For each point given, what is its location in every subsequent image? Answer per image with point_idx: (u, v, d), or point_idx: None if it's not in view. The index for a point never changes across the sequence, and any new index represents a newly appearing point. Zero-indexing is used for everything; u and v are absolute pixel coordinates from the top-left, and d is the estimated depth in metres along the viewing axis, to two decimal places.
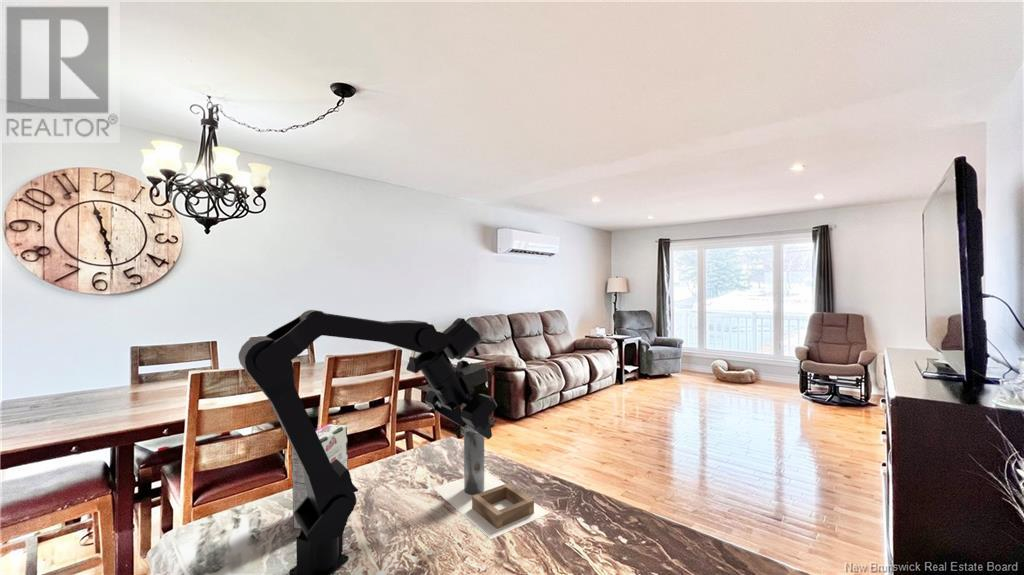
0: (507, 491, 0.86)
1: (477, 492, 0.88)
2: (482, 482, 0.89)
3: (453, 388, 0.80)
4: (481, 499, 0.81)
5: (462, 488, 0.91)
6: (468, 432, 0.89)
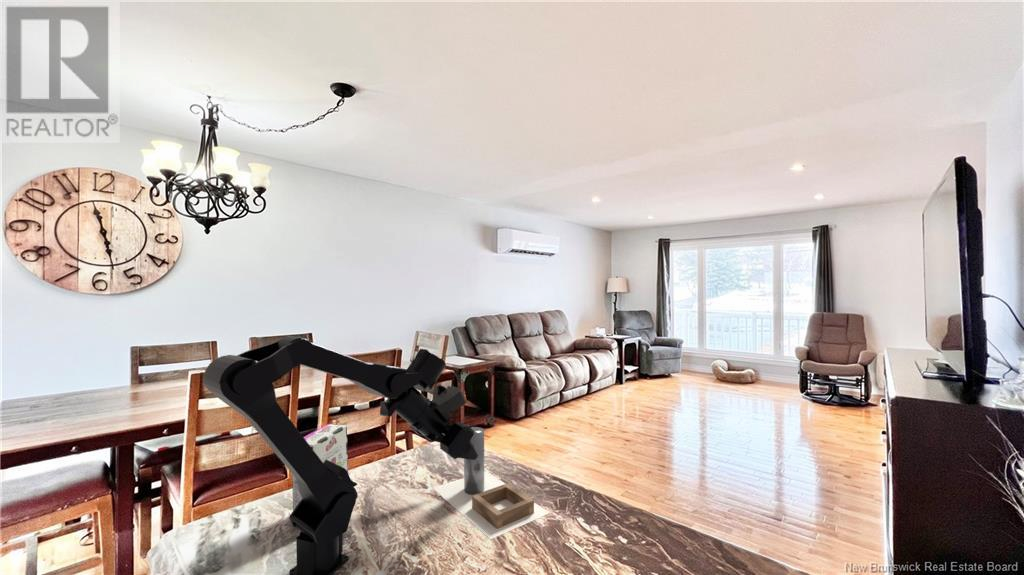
0: (507, 491, 0.86)
1: (477, 492, 0.88)
2: (482, 482, 0.89)
3: (429, 421, 0.81)
4: (481, 499, 0.81)
5: (462, 488, 0.91)
6: None
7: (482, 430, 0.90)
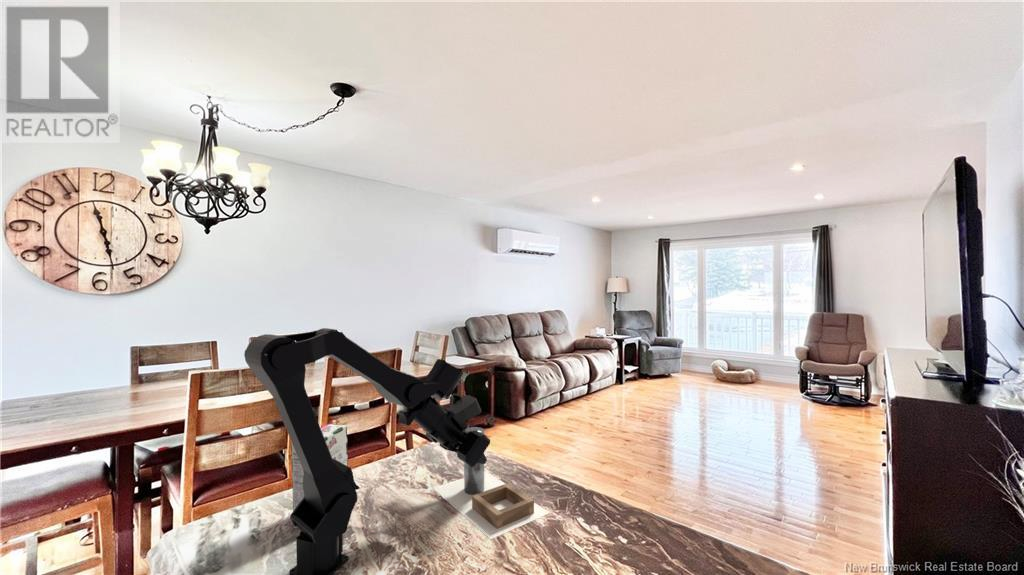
0: (507, 491, 0.86)
1: (477, 492, 0.88)
2: (482, 482, 0.89)
3: (446, 430, 0.83)
4: (481, 499, 0.81)
5: (462, 488, 0.91)
6: None
7: (482, 430, 0.90)
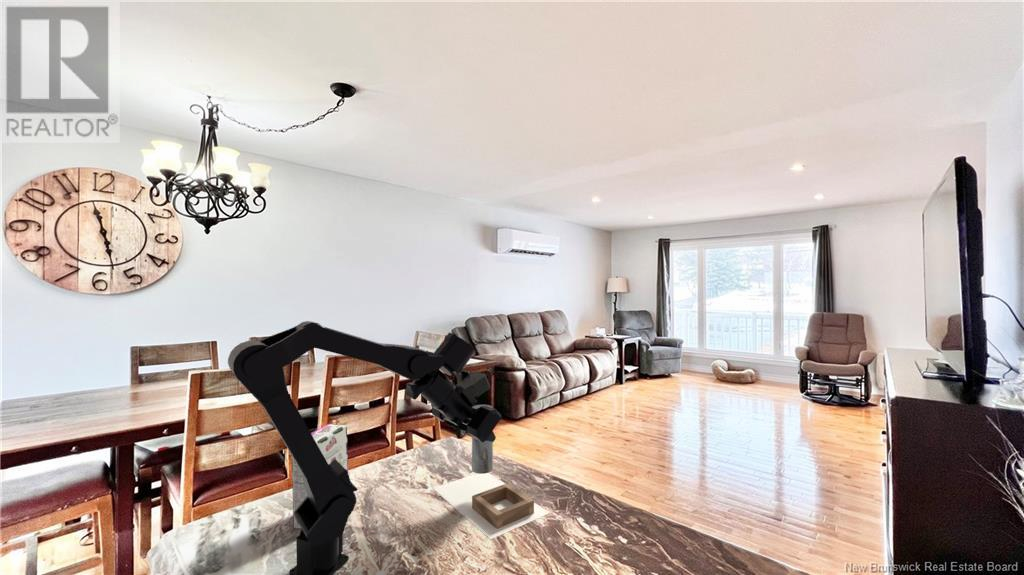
0: (507, 491, 0.86)
1: (486, 471, 0.86)
2: (491, 461, 0.87)
3: (455, 405, 0.80)
4: (481, 499, 0.81)
5: (462, 488, 0.91)
6: None
7: (491, 407, 0.88)
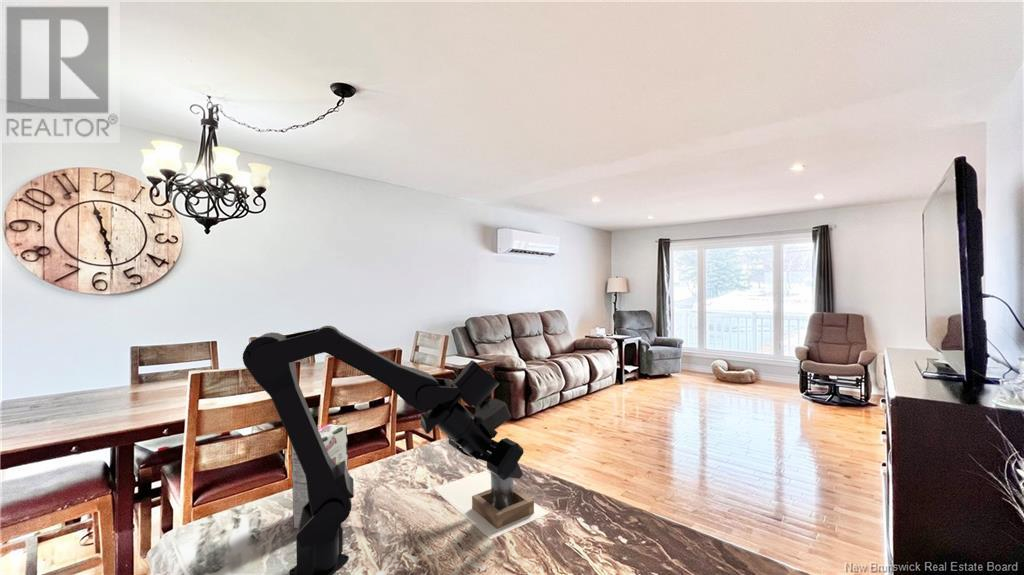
0: None
1: None
2: (511, 502, 0.81)
3: (474, 438, 0.75)
4: (481, 499, 0.81)
5: (462, 488, 0.91)
6: None
7: None
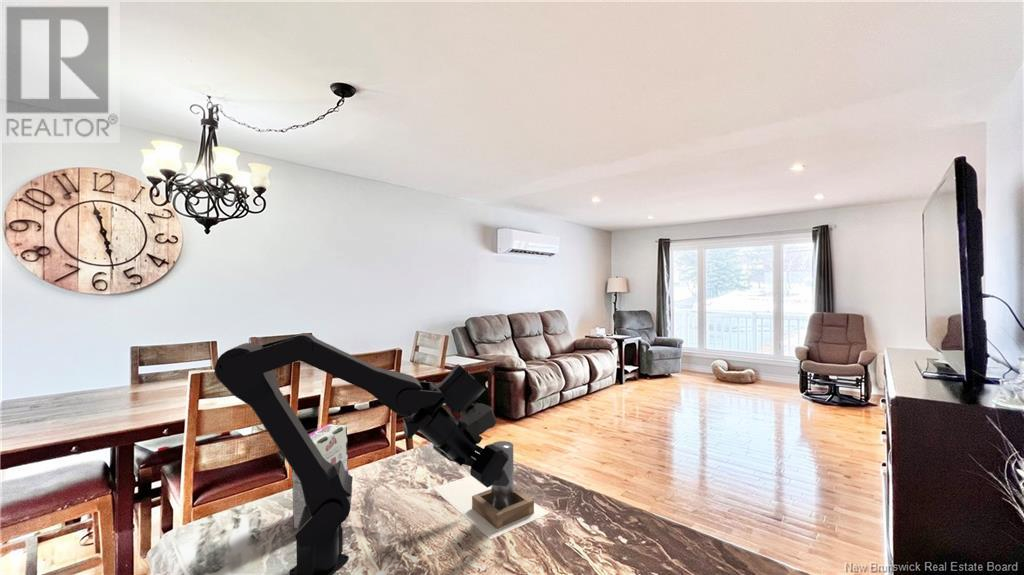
0: None
1: None
2: (511, 502, 0.81)
3: (458, 444, 0.73)
4: (481, 499, 0.81)
5: (462, 488, 0.91)
6: None
7: (511, 445, 0.82)
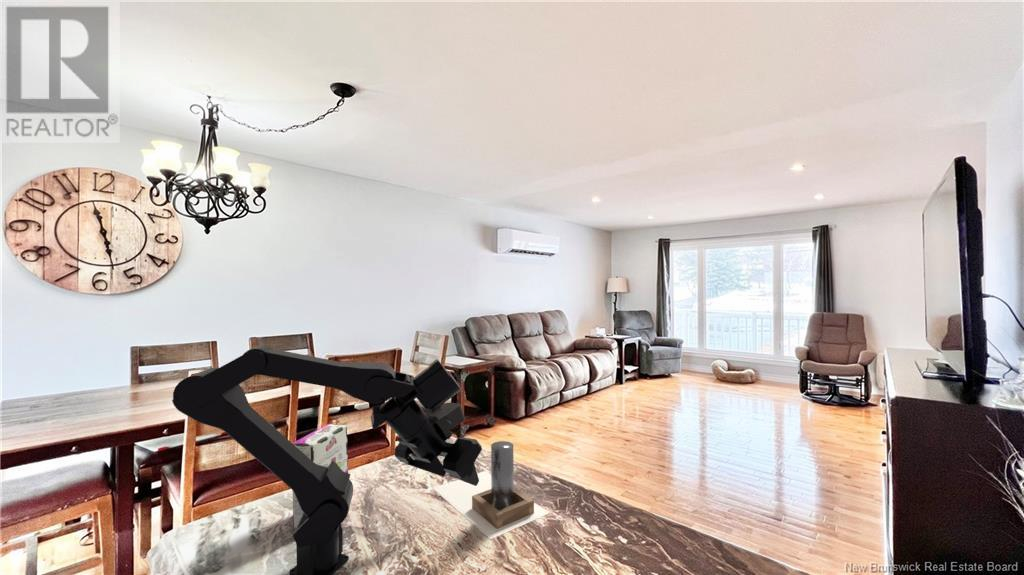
0: None
1: None
2: (511, 502, 0.81)
3: (429, 437, 0.70)
4: (481, 499, 0.81)
5: (462, 488, 0.91)
6: (496, 447, 0.81)
7: (511, 445, 0.82)
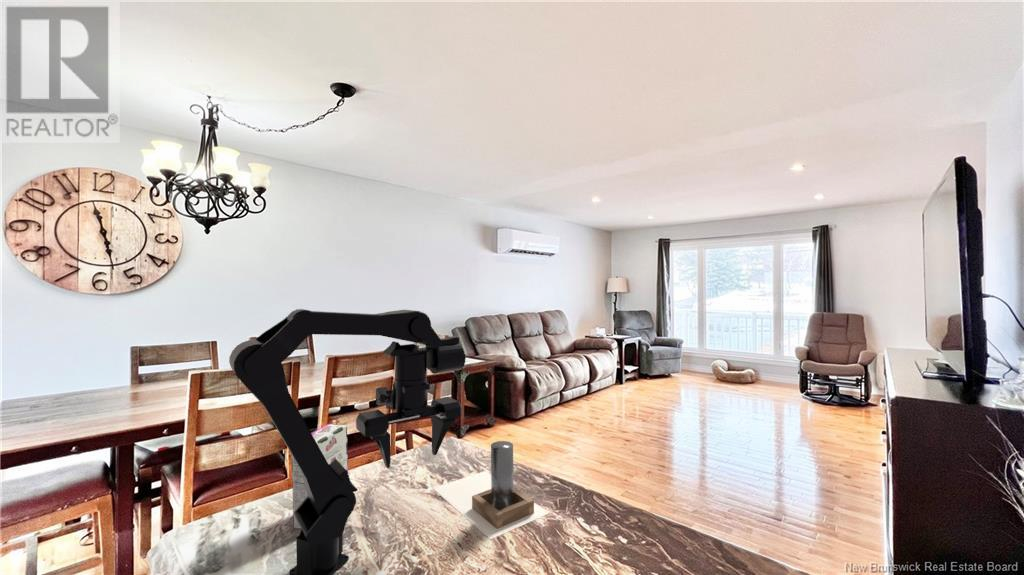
0: None
1: None
2: (511, 502, 0.81)
3: None
4: (481, 499, 0.81)
5: (462, 488, 0.91)
6: (496, 447, 0.81)
7: (511, 445, 0.82)
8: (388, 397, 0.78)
